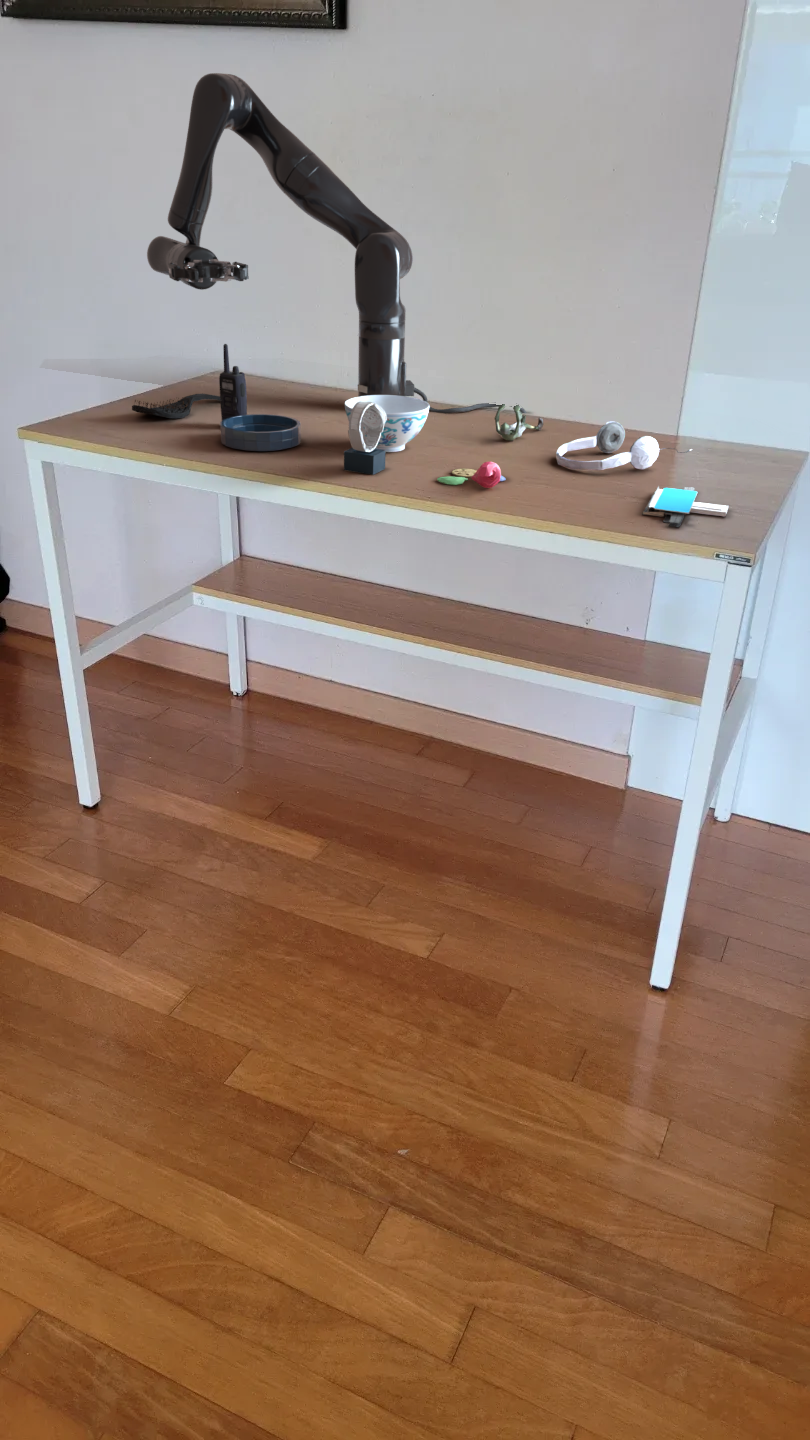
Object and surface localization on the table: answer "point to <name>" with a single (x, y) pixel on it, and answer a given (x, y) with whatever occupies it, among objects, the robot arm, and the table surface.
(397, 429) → the chinaware
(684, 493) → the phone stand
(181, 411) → the hairbrush
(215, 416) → the table surface
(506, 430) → the zombie figurine
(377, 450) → the watch
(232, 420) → the bowl
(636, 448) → the headphones
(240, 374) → the two-way radio
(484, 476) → the toy pieces
